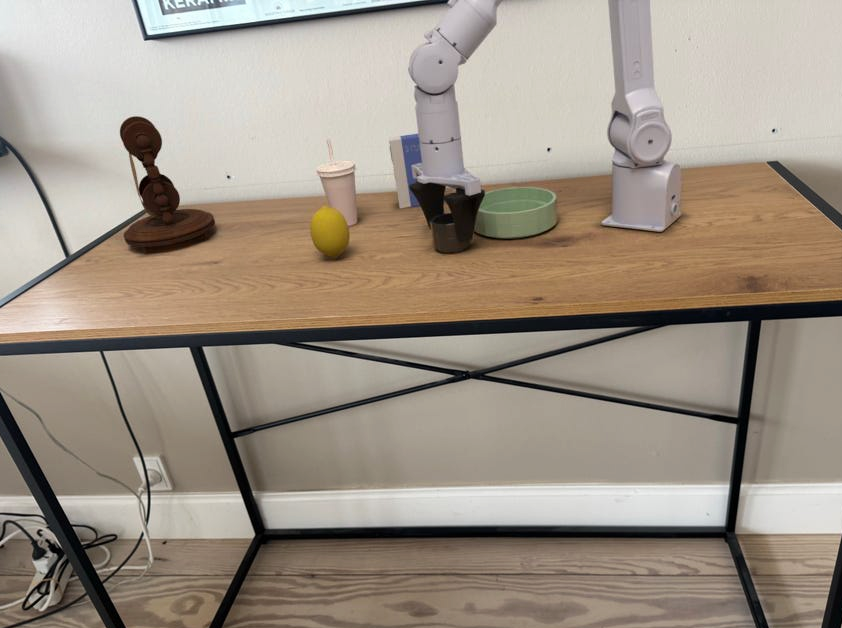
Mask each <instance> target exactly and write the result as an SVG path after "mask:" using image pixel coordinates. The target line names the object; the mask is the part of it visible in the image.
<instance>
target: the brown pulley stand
mask: <svg viewBox="0 0 842 628" xmlns="http://www.w3.org/2000/svg"><path fill="white" fill-rule="evenodd" d="M119 127H120V128H119V136H120V139H121V141H122V144H123V147H124V149H125V150H126V151H127V152H128V158H129V163H130V167H131V172H132V173H131V174H132V177H133V180H134V185H135V188H136V192H137V195H138V197H139V200H140V202H141V205H142V207H143V209H144V211H145V212H146V213H147V215H149V216H146V217H143V218H141V219H139V220H137V221H135V222H134V223H132V224H131V225H130V226H129V227H128V228H127V229H126V230H125V231H124V233H122V234H123V238H124V241H125V243H126V245H128V246H131V247H135V248H141V250H142V251H143V252H144V253H145V254H146V255H149V254H150V248H151V247H160V246H166V245H167V246H168V245H172V244H176V243H181V242H185V241H188V240H191V239H194V238H196V237H199V236H200V237H201V238H202V239H203V240H204V241H207V240H208V231H209V232H210V230H212V229H213V228H214V227H215V225H216V220H215V216H214V214H213V213H211V212H209V211H204V210H202V209H196V208H195V209H194V208H181V209H180V208H179V205H180V201H181V198H180V197H181V196H180V193H179V191H178V189H177V188H176V186H175V184H174V183H173V181H172V180H171V179H170V178H169V177H168V176H167V175H165V174H163V173H161V172H160V170H159V167H158V166H157V165H156V164H155V163H156V159H157V157H158V155H159V153H160V151H161V150H162V146H163V139H162V136H161V133H160V131H159V130H158V129H157V127H156V126H155V125H154V124H153V122H152V121H151V120H149V119H147V118H145V117H143V116H138V115H135V116H130V117H127V118H126V119H125V120H124V121H123V122H122V123H121V125H120V126H119ZM133 157H135V158H136V159H137V160H138V161H139V162H140V163H141V164H142V168H144V170H145V171H146V175H145V176H143V177H142V179H141V180H140V181H139V179H138V176H137V175H138V174H137V169H136V166H135V162H134V159H133ZM178 208H179V209H178Z"/></svg>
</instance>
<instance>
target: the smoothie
mask: <svg viewBox="0 0 842 628" xmlns="http://www.w3.org/2000/svg"><path fill="white" fill-rule="evenodd" d="M326 143H327V149H328V152H329V158H330V162H327V163H324V164H321V165H319V166H317V167H316V169H315V170H316V175H317V176H318V177H319V179H320V182H321V185H322V188H323V191H324V193H325V197H326V200H327V204H328V207H329V208H333V209H336V210H338V211H339V212H340V213H341V214H342V215H343V216H344V218H345V220H346V222H347V225H348V227H351V226H353V225H356V224H357V223H358V210H357V193H356V192H357V190H356V175H355V174H356V173H355V171H356V170H357V168H356V163H355V162H354V161H351V160H338V161H335V157H334V153H333V147H332V141H331V138H328V139H326Z"/></svg>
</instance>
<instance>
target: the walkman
mask: <svg viewBox="0 0 842 628" xmlns="http://www.w3.org/2000/svg"><path fill="white" fill-rule="evenodd" d="M388 144H389V152H390V153H389V154H390V158H391V159H390V160H391V162H392V167H393V176H394V180H395V187H396V193H397V200H398V205H399V209H405V208H412V207H418V206H420V204H419V202H418V200H417V199H416V197H415V196H414V194H413V193H412V192H411V190H410V188H409V185H410V184H413V183H417V179H414V178H413V174H412V167H411V165H414V164H418V163H422V158H421V150H420V142H419V134H418V133H412V134H404V135H398V136H391V137H389V140H388Z"/></svg>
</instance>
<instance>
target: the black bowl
mask: <svg viewBox="0 0 842 628" xmlns="http://www.w3.org/2000/svg"><path fill="white" fill-rule="evenodd" d="M430 226H431V230H430V233H431V240H432V248H434V250H436V251H438V252H439V253H443V254H444V253H445V254H453V253H454V254H455V253H460V252H463V251H465V250H466V249H468V248H469V247H470V246H471V245H472V242H473V241H472V240H473V239H471V240H468V241H465V242H462V243H461V242H459V241H458V238H457V235H456V231H455V225H454V221H453V217H452V214H451V211H450V212H444V213H443V214H439V215H436V216H434V217H433V218H431V220H430Z"/></svg>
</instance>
